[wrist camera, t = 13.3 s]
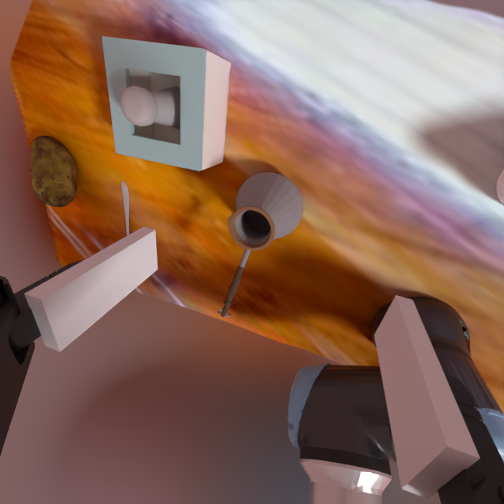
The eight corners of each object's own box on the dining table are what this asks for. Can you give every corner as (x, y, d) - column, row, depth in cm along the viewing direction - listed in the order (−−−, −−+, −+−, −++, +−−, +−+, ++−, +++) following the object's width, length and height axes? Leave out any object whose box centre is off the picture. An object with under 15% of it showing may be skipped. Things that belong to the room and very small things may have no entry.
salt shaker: (164, 98, 41) (102, 91, 30) (192, 81, 39) (135, 66, 28) (181, 135, 43) (128, 140, 32) (208, 120, 41) (161, 121, 30)
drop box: (223, 162, 44) (199, 171, 36) (152, 147, 46) (115, 153, 39) (230, 63, 37) (203, 48, 29) (146, 52, 40) (101, 35, 32)
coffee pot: (250, 159, 42) (214, 176, 30) (315, 182, 41) (306, 211, 28) (223, 260, 53) (188, 305, 41) (274, 281, 52) (254, 334, 39)
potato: (80, 140, 50) (40, 143, 43) (92, 202, 56) (59, 213, 50) (46, 133, 52) (3, 135, 45) (62, 194, 58) (25, 204, 51)
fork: (130, 169, 50) (124, 170, 49) (141, 270, 62) (136, 273, 61) (116, 166, 51) (110, 167, 49) (130, 266, 63) (125, 270, 61)
